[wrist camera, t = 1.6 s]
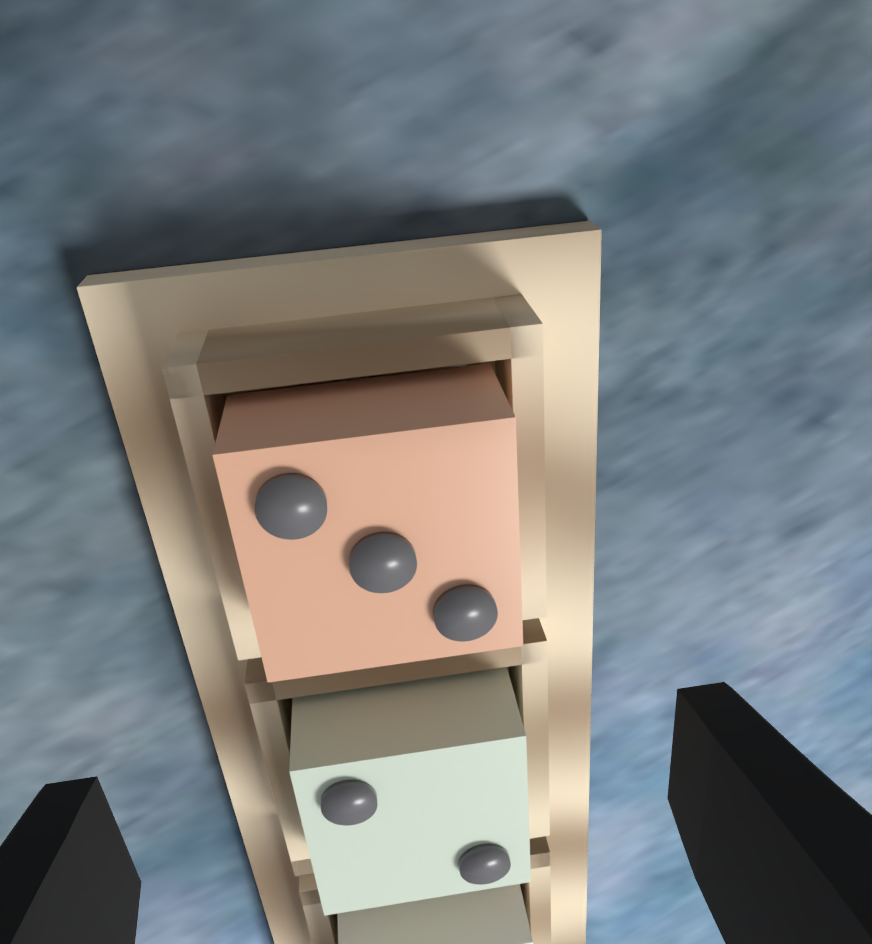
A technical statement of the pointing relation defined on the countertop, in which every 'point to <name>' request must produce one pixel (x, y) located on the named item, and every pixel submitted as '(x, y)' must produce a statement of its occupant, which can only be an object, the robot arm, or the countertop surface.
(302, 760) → the tile two
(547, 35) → the countertop surface
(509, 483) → the tile three
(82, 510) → the countertop surface
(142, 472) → the tile board
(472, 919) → the tile one
